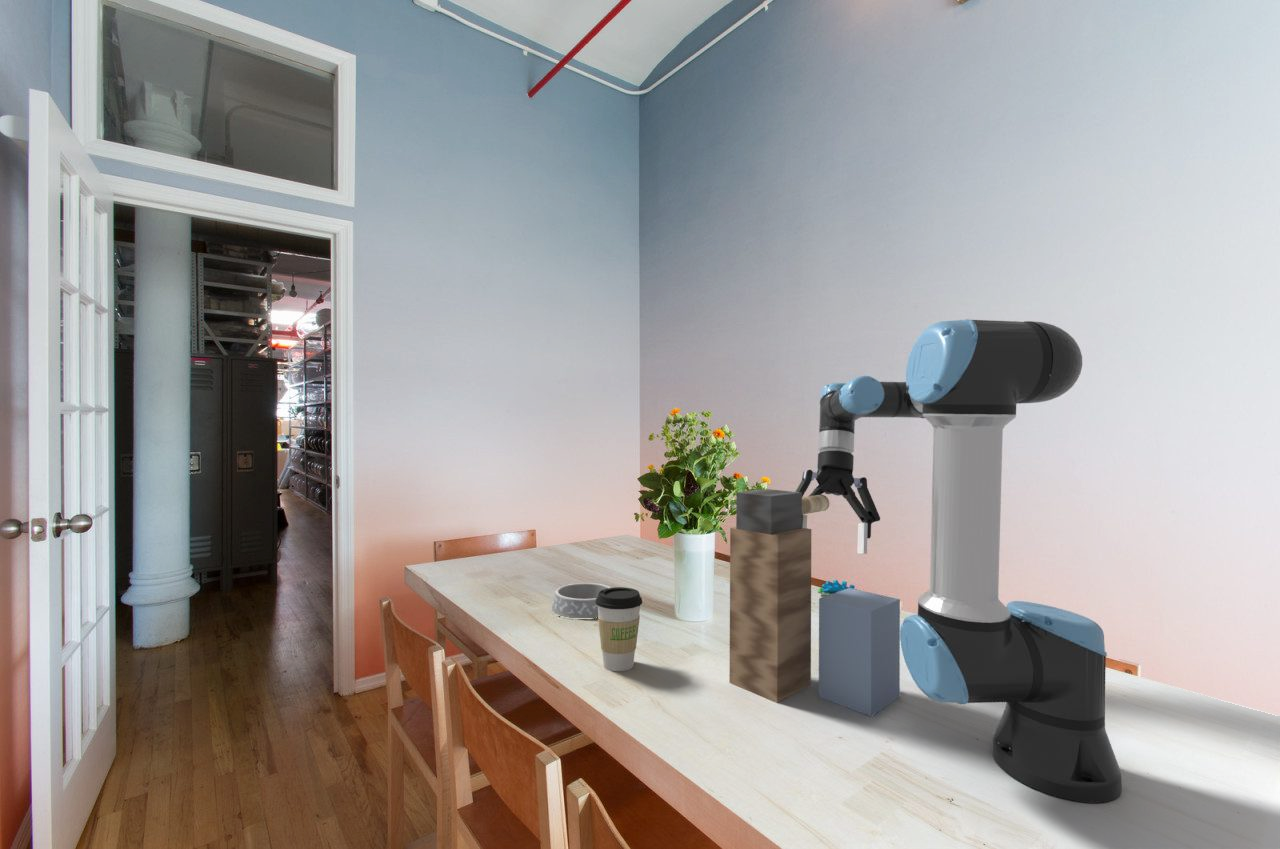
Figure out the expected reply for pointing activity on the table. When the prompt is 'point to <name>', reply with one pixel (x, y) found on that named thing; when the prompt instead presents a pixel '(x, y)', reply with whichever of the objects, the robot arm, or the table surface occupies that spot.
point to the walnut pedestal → (770, 612)
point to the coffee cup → (618, 626)
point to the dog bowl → (577, 600)
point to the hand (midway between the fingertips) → (831, 549)
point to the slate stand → (859, 650)
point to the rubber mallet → (775, 510)
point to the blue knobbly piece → (833, 587)
